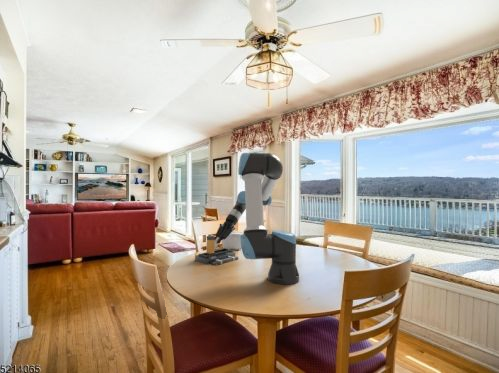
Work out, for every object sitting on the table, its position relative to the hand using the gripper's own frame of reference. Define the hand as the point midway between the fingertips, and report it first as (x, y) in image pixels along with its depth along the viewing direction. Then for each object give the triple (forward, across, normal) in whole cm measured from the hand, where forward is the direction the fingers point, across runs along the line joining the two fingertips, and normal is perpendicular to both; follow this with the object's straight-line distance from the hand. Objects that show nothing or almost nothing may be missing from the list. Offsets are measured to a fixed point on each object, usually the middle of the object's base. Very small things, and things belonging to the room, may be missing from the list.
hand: (213, 247), depth 171 cm
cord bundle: (+4, -9, -6) cm, 12 cm away
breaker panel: (+4, 0, -6) cm, 8 cm away
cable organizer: (-15, +12, -26) cm, 33 cm away
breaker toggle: (+5, 0, -1) cm, 5 cm away
